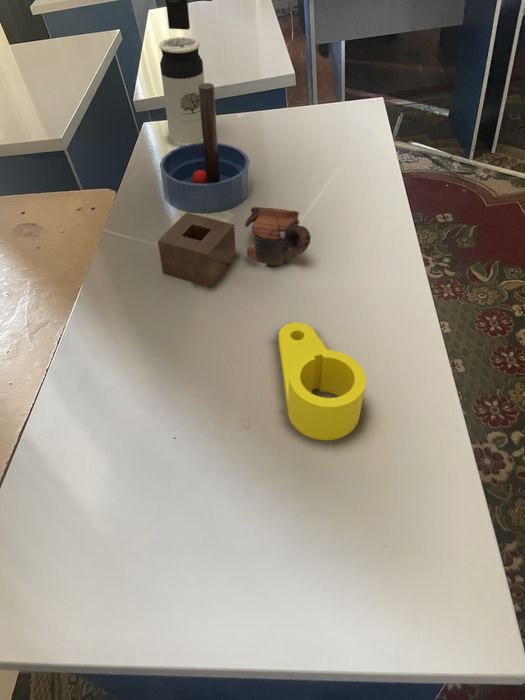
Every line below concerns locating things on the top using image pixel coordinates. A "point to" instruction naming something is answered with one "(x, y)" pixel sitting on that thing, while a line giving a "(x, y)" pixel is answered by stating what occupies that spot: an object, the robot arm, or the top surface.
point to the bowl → (211, 195)
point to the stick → (209, 132)
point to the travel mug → (182, 88)
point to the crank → (319, 384)
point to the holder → (197, 249)
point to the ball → (199, 177)
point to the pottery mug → (276, 235)
